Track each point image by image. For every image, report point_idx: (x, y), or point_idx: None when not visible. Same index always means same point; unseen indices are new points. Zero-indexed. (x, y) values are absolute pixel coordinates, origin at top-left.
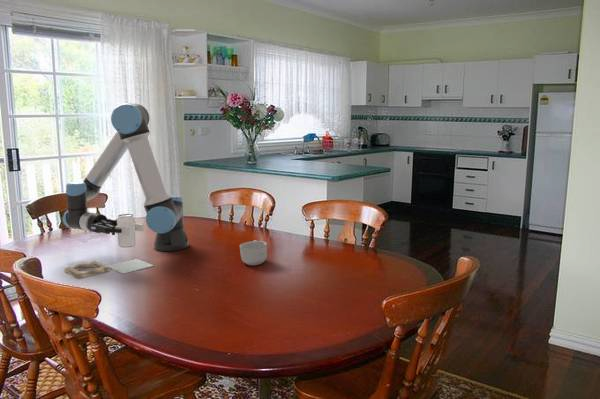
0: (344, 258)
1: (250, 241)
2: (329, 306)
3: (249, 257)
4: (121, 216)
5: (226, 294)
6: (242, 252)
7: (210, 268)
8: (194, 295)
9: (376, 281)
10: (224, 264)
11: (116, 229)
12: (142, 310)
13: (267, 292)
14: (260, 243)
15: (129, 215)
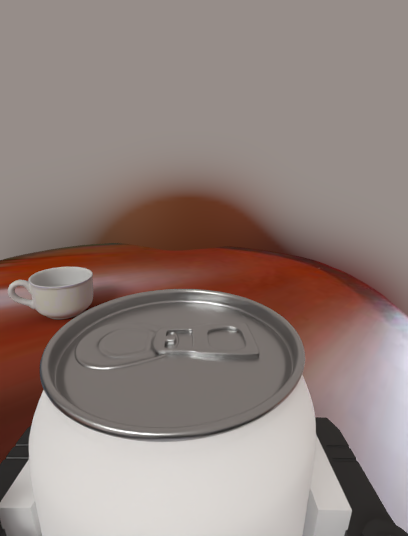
0: (43, 267)
1: (30, 282)
2: (201, 258)
3: (92, 292)
4: (228, 371)
5: None
6: (83, 291)
7: None
8: None
9: (128, 253)
10: None
11: (353, 460)
12: (357, 328)
13: (196, 279)
14: (37, 278)
15: (107, 336)
